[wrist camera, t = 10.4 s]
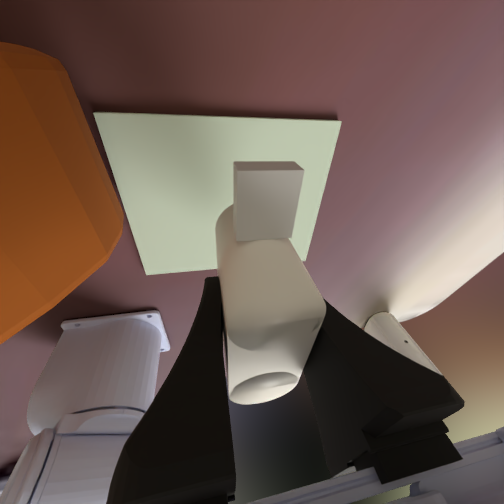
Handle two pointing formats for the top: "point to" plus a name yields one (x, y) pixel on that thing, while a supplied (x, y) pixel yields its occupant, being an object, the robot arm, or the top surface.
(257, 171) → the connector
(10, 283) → the orange toaster
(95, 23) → the top surface
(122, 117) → the rubber mat
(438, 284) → the top surface
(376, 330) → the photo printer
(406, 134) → the top surface
